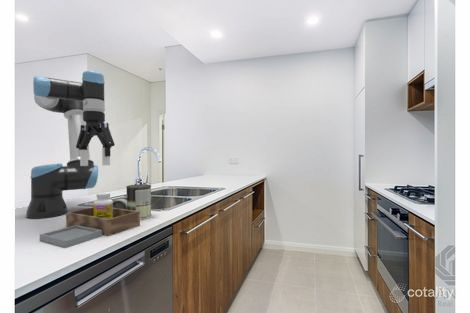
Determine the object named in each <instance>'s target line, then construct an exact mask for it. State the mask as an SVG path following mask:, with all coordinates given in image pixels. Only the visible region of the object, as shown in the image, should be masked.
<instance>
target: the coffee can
mask: <svg viewBox="0 0 470 313" xmlns="http://www.w3.org/2000/svg"><path fill="white" fill-rule="evenodd" d="M125 187H126V200H127V210H133V211H140V221H142V220H146V219H147V220H148V219H149V218H151V217H152V212H151V211H152V194H151V191H152V185H151V184H147V183H146V184H145V183H144V184H143V183H140V184H129V185H126V186H125Z"/></svg>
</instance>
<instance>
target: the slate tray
mask: <svg viewBox="0 0 470 313" xmlns="http://www.w3.org/2000/svg"><path fill="white" fill-rule="evenodd" d="M102 236H103V235H102V230H99V229H94V228H89V227H84V226H79V225H75V226H71V227H64V228H60V229H55V230H52V231H48V232H44V233H41V234H39V242H42V243H47V244H51V245H54V246H59V247H62V248H66V249H67V248H69V247H72V246H76V245H78V244H81V243H85V242H87V241H90V240H94V239H97V238H100V237H102Z"/></svg>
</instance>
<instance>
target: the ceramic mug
mask: <svg viewBox="0 0 470 313" xmlns="http://www.w3.org/2000/svg"><path fill="white" fill-rule="evenodd" d="M112 201H113V208H119V209H126V210H127V199H125V198H119V199H115V200H112Z"/></svg>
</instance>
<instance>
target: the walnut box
mask: <svg viewBox="0 0 470 313" xmlns="http://www.w3.org/2000/svg"><path fill="white" fill-rule="evenodd" d="M65 224H66V225H65V228H67V227H71V226H75V225H79V226H84V227H89V228H94V229H99V230H102V236H108V237H109V236H112V235H116V234H118V233H121V232H124V231H126V230H130V229H133V228H136V227H139V226H141V220H140V211H133V210H126V209H119V208H113V218H111V219H106V218H100V217H94V206H92V207H88V208H87V207H86V208H82V209H77V210H74V211H67V213H65Z"/></svg>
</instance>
